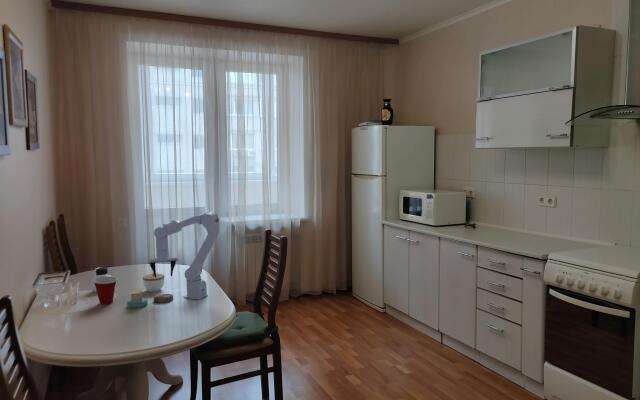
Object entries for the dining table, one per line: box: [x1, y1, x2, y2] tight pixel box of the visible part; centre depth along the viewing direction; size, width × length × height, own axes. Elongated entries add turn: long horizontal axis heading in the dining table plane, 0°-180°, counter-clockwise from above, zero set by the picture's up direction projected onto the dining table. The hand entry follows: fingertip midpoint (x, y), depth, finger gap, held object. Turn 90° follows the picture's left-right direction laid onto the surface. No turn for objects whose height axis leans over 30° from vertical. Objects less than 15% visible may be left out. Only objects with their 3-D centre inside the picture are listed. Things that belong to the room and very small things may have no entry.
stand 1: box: [126, 297, 148, 310], centre depth 225 cm, size 9×9×2 cm
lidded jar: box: [142, 272, 165, 293], centre depth 249 cm, size 11×11×9 cm
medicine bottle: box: [91, 266, 112, 292], centre depth 252 cm, size 7×7×12 cm
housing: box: [130, 288, 143, 304], centre depth 225 cm, size 7×4×5 cm, turn 19°
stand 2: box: [153, 293, 174, 304], centre depth 233 cm, size 9×9×2 cm
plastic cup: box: [93, 276, 118, 306], centre depth 229 cm, size 11×11×12 cm
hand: (163, 276), depth 238 cm, fingers open, 7 cm apart
